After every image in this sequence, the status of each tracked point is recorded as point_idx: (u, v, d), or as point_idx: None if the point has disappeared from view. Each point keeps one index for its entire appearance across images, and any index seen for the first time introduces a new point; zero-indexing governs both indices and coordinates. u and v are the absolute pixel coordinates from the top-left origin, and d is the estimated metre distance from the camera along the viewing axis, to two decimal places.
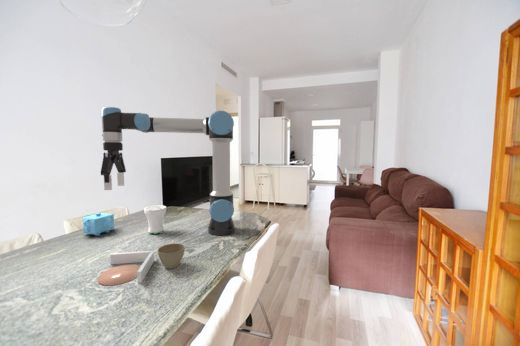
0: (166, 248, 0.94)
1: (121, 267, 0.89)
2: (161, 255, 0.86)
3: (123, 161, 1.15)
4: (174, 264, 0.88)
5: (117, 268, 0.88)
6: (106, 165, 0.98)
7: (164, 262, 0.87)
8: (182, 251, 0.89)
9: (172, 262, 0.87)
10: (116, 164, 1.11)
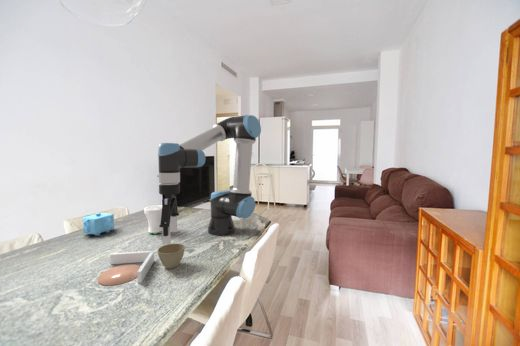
0: (166, 248, 0.94)
1: (121, 267, 0.89)
2: (161, 255, 0.86)
3: (176, 203, 0.97)
4: (174, 264, 0.88)
5: (117, 268, 0.88)
6: (166, 215, 0.81)
7: (164, 262, 0.87)
8: (182, 251, 0.89)
9: (172, 262, 0.87)
10: None
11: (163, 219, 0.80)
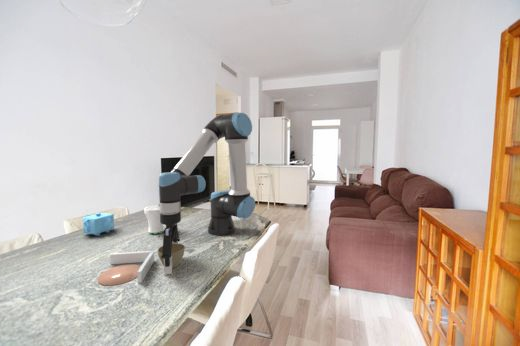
0: None
1: (121, 267, 0.89)
2: (161, 255, 0.86)
3: (177, 228, 0.98)
4: (174, 264, 0.88)
5: (117, 268, 0.88)
6: (168, 247, 0.82)
7: None
8: (182, 251, 0.89)
9: (172, 262, 0.87)
10: None
11: (164, 250, 0.81)
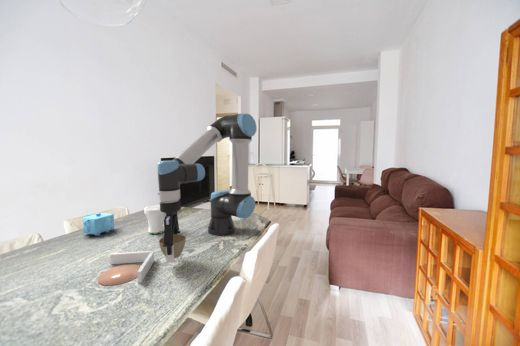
0: None
1: (121, 267, 0.89)
2: (162, 246, 0.86)
3: (177, 219, 0.97)
4: (175, 254, 0.88)
5: (117, 268, 0.88)
6: (169, 236, 0.83)
7: (165, 253, 0.87)
8: (183, 242, 0.90)
9: (174, 253, 0.88)
10: None
11: (166, 239, 0.82)
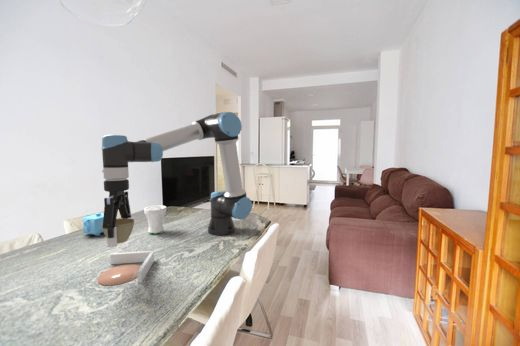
0: None
1: (121, 267, 0.89)
2: None
3: (128, 203, 0.89)
4: (119, 238, 0.80)
5: (117, 268, 0.88)
6: (109, 216, 0.75)
7: None
8: (129, 225, 0.81)
9: (117, 237, 0.79)
10: (119, 207, 0.85)
11: (106, 220, 0.74)
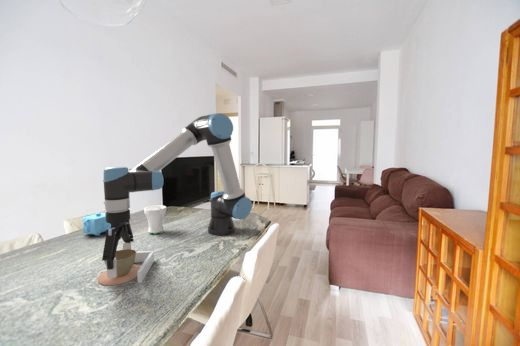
0: (117, 254, 0.87)
1: None
2: None
3: (130, 228, 0.91)
4: (121, 272, 0.81)
5: None
6: (109, 248, 0.75)
7: None
8: (131, 258, 0.82)
9: (119, 270, 0.80)
10: (122, 235, 0.87)
11: (106, 252, 0.74)
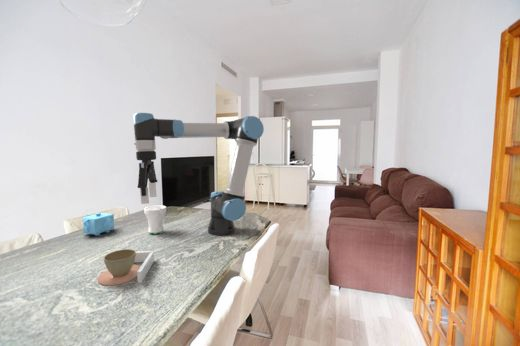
0: (117, 254, 0.87)
1: None
2: (106, 263, 0.79)
3: (154, 170, 1.06)
4: (121, 272, 0.81)
5: None
6: (143, 177, 0.90)
7: (110, 270, 0.80)
8: (131, 258, 0.82)
9: (119, 271, 0.80)
10: (148, 174, 1.02)
11: (140, 180, 0.90)
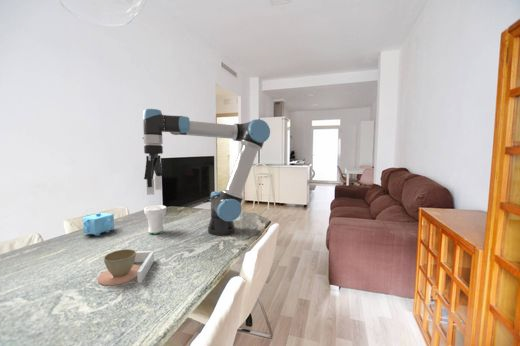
0: (117, 254, 0.87)
1: None
2: (106, 262, 0.79)
3: None
4: (121, 272, 0.81)
5: None
6: (150, 169, 0.95)
7: (110, 270, 0.80)
8: (131, 258, 0.82)
9: (119, 270, 0.80)
10: (155, 167, 1.08)
11: (147, 172, 0.95)
